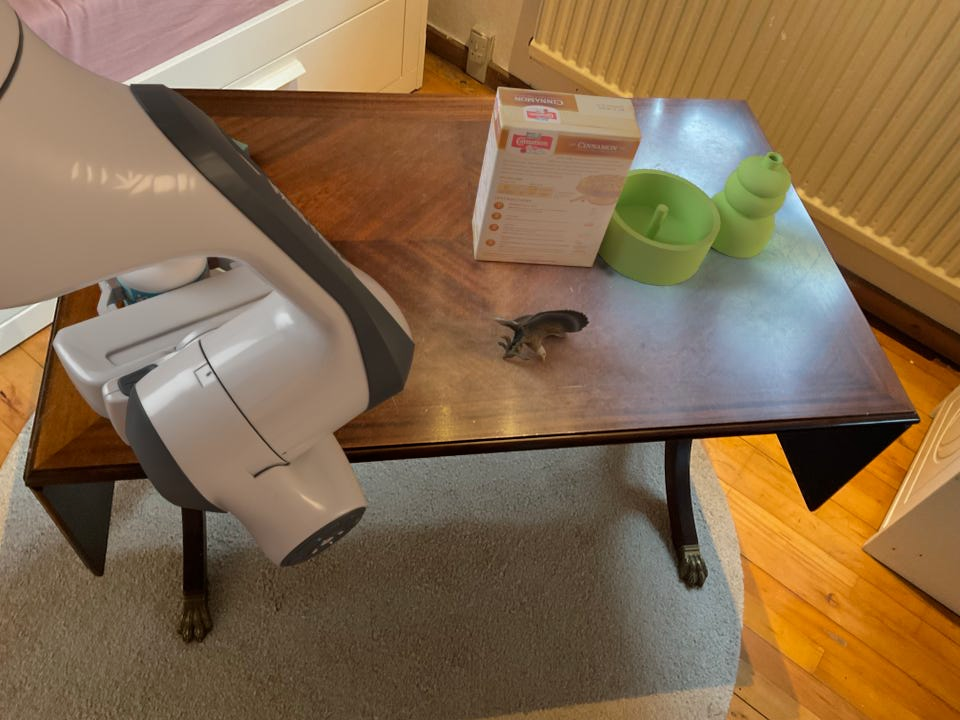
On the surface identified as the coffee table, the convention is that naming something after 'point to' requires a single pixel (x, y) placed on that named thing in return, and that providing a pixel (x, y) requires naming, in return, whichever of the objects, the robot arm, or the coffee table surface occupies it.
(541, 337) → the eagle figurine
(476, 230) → the coffeecake box
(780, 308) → the coffee table surface
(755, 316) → the coffee table surface
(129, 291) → the pill bottle
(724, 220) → the food container
